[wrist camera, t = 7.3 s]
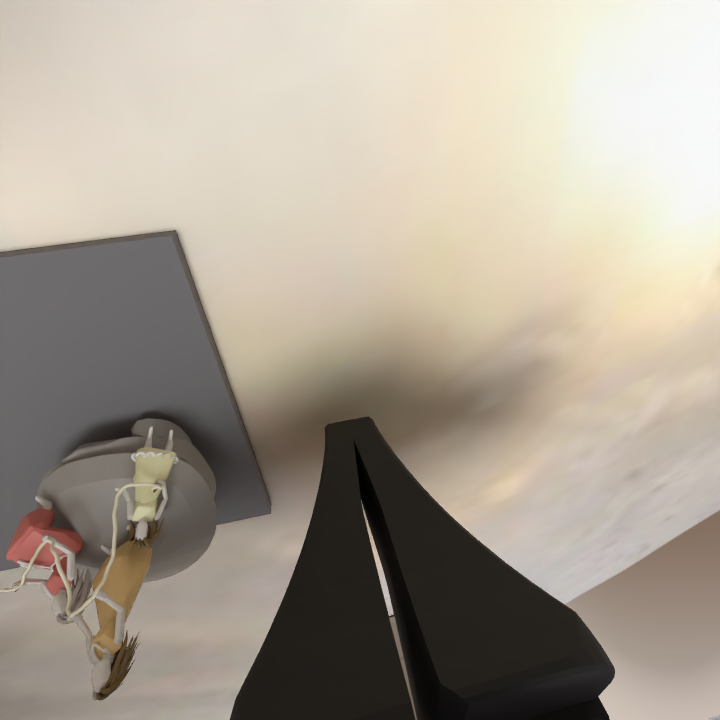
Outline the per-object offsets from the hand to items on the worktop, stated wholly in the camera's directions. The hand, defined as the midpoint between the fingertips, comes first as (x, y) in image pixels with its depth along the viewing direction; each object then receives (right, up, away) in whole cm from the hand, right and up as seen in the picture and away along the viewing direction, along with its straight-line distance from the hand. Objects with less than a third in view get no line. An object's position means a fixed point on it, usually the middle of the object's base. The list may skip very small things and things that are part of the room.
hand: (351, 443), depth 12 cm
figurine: (-6, -1, 0) cm, 6 cm away
